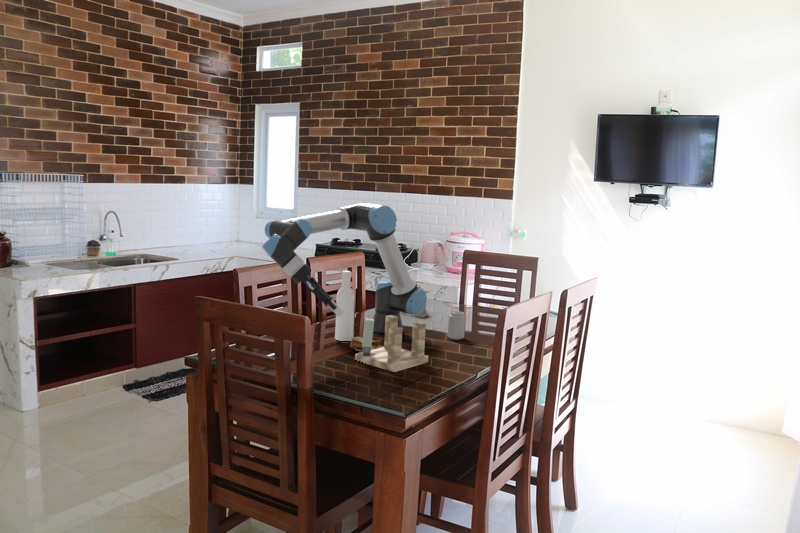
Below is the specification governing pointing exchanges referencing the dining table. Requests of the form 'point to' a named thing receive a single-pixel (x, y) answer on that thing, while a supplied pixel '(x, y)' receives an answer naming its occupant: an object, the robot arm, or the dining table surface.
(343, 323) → the bottle
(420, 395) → the dining table surface
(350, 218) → the robot arm
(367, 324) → the hinged leg
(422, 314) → the ceramic cottage
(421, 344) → the stool
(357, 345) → the toy sandwich meal
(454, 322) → the can
